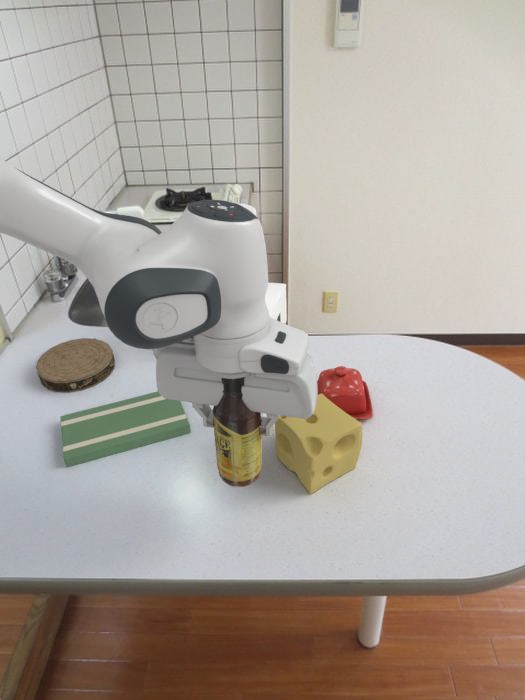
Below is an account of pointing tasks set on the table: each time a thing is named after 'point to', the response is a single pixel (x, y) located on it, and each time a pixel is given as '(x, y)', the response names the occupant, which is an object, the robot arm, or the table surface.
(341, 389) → the butter dish
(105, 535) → the table surface
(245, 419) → the sauce bottle
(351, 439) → the cheese
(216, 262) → the robot arm
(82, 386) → the wooden log slice
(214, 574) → the table surface
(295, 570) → the table surface
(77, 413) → the towel
